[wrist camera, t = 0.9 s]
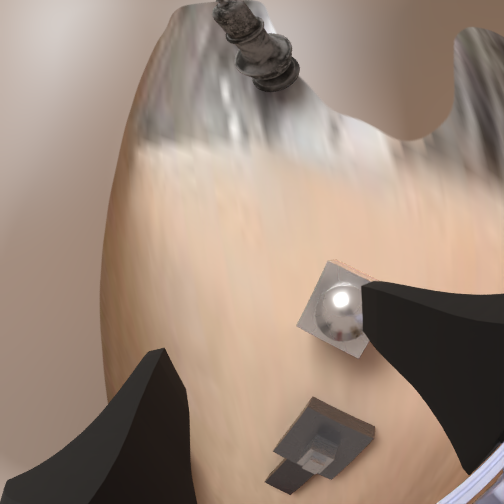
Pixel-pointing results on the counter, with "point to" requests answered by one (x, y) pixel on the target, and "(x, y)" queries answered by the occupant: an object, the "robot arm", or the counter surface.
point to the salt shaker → (257, 47)
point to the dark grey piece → (318, 445)
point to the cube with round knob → (337, 308)
